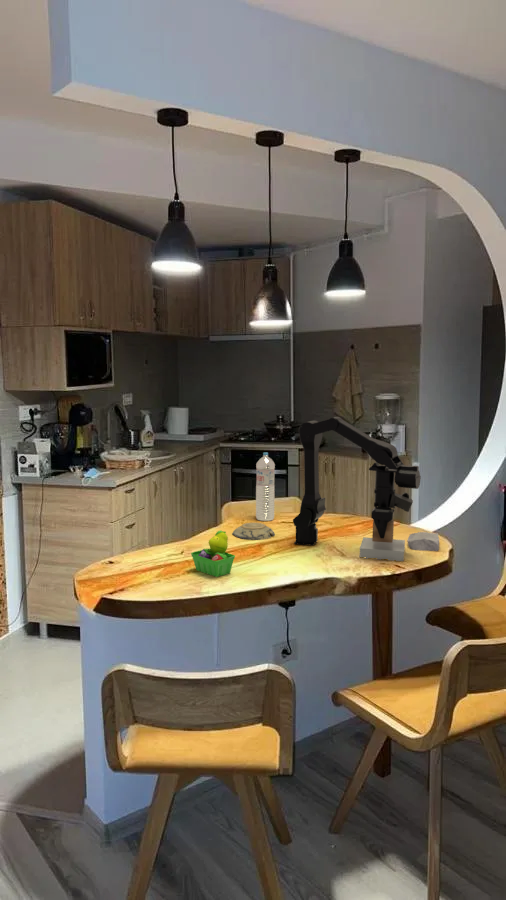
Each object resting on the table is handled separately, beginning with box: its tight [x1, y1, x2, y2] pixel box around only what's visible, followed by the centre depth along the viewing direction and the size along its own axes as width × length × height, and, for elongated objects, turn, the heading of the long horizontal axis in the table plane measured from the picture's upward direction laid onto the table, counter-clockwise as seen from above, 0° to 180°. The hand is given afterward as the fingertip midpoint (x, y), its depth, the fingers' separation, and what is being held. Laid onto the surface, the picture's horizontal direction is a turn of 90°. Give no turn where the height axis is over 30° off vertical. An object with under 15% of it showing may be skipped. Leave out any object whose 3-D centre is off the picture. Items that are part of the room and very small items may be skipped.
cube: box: [371, 518, 395, 543], centre depth 212 cm, size 6×6×6 cm
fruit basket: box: [190, 529, 236, 578], centre depth 194 cm, size 11×9×11 cm
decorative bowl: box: [231, 522, 276, 541], centre depth 235 cm, size 15×4×15 cm
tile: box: [359, 536, 406, 562], centre depth 213 cm, size 13×13×3 cm
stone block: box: [406, 531, 440, 552], centre depth 222 cm, size 12×5×10 cm
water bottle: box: [255, 452, 276, 522], centre depth 255 cm, size 7×7×25 cm
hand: (382, 535), depth 212 cm, fingers closed on cube, 6 cm apart
